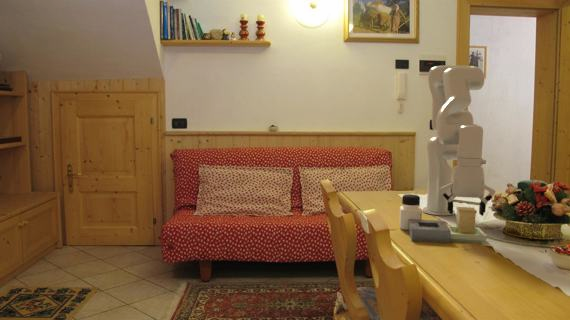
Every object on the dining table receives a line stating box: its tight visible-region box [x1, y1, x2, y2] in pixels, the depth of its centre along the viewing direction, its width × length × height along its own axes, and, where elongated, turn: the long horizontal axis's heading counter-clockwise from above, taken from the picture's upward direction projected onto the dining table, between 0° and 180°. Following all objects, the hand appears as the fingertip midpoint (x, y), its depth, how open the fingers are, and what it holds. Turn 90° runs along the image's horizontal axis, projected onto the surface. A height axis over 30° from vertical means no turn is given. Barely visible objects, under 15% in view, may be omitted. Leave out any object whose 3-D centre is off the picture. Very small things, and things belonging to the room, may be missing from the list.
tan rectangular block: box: [455, 206, 477, 234], centre depth 158 cm, size 5×5×9 cm
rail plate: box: [407, 219, 451, 244], centre depth 159 cm, size 14×12×4 cm
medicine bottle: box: [398, 193, 423, 231], centre depth 170 cm, size 7×7×12 cm
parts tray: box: [447, 225, 488, 244], centre depth 158 cm, size 11×11×2 cm
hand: (465, 213), depth 158 cm, fingers open, 9 cm apart
